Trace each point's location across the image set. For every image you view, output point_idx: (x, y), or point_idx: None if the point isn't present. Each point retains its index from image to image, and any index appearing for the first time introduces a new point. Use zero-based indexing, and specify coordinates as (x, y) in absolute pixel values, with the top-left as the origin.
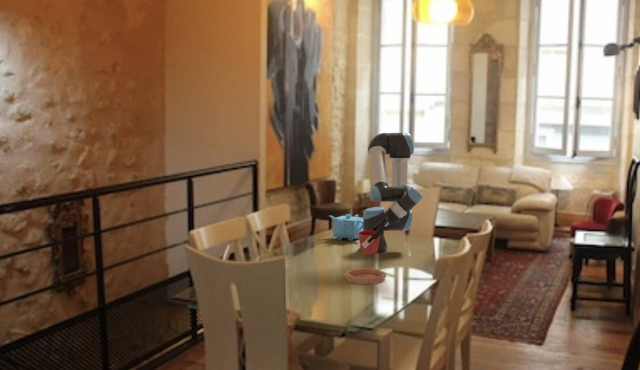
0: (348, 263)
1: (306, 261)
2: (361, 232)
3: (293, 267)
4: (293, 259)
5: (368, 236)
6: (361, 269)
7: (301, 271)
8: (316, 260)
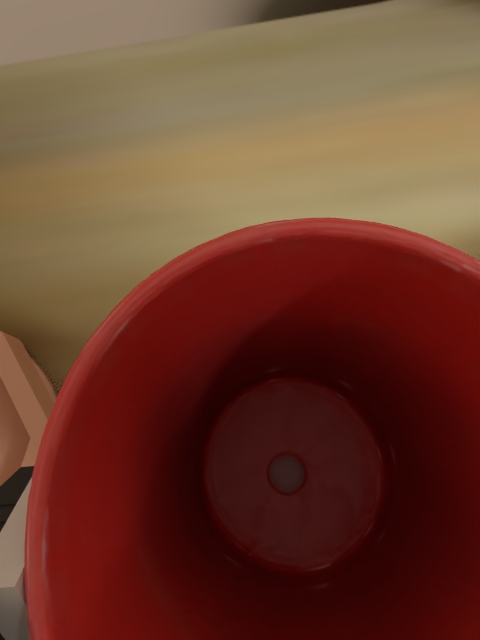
0: None
1: (341, 67)
2: (435, 275)
3: (197, 38)
4: (367, 10)
5: (41, 498)
6: (23, 419)
7: (117, 82)
8: (381, 106)
